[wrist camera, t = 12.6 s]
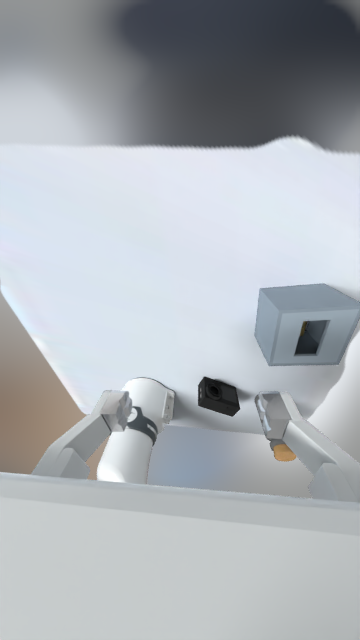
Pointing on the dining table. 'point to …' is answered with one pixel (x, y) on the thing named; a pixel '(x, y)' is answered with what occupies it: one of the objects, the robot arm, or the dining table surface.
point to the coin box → (287, 318)
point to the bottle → (279, 446)
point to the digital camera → (218, 397)
